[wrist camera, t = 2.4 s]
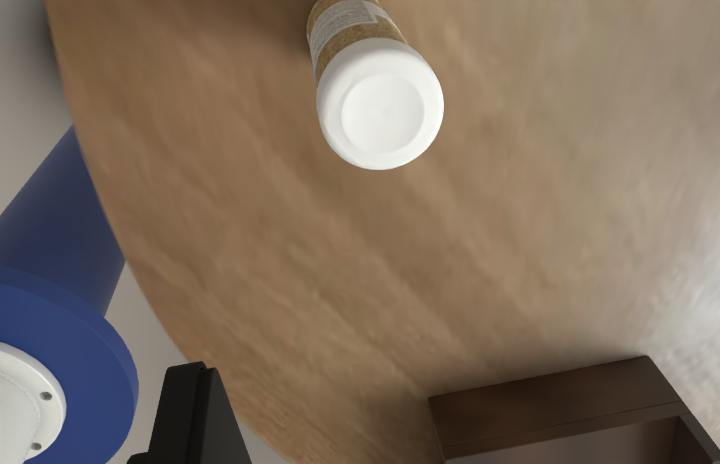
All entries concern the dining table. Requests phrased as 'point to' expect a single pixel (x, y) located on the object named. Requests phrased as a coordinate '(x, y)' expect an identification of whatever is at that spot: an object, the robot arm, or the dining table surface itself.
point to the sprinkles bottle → (371, 85)
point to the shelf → (573, 420)
